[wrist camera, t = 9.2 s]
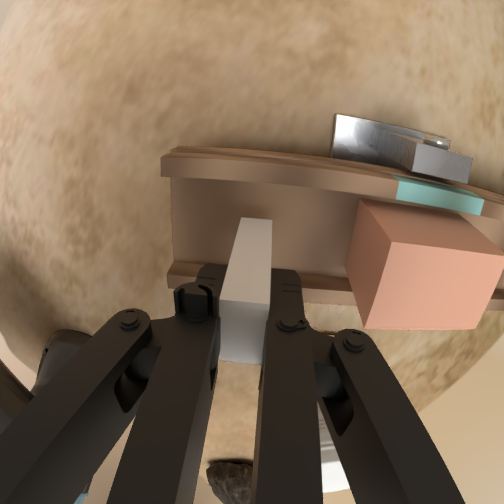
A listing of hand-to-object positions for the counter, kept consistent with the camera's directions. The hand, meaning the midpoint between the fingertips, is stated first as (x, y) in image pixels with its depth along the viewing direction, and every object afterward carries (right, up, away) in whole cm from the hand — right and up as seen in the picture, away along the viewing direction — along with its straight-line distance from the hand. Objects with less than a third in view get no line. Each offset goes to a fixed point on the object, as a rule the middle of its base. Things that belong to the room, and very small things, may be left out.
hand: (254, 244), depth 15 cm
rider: (+9, 0, +2) cm, 9 cm away
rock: (-3, -42, +34) cm, 54 cm away
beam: (+11, +3, +7) cm, 13 cm away
